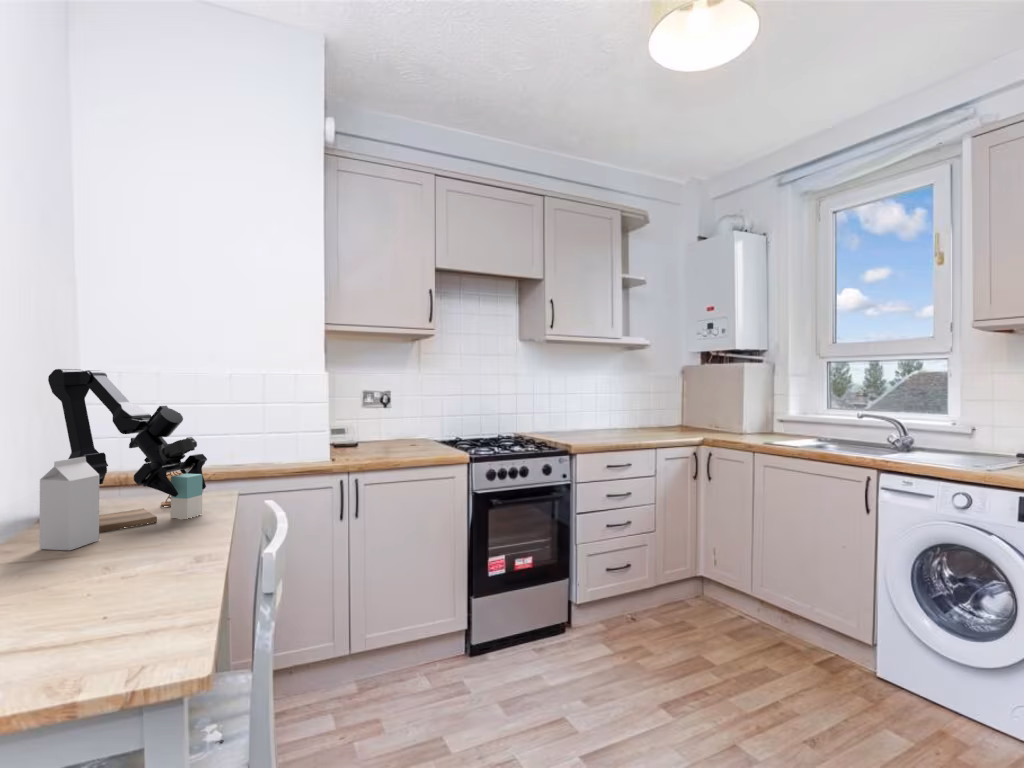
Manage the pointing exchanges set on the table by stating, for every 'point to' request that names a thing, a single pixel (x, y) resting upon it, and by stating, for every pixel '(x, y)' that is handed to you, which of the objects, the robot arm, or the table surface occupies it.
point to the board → (125, 519)
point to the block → (187, 496)
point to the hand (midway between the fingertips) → (191, 491)
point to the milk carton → (69, 505)
